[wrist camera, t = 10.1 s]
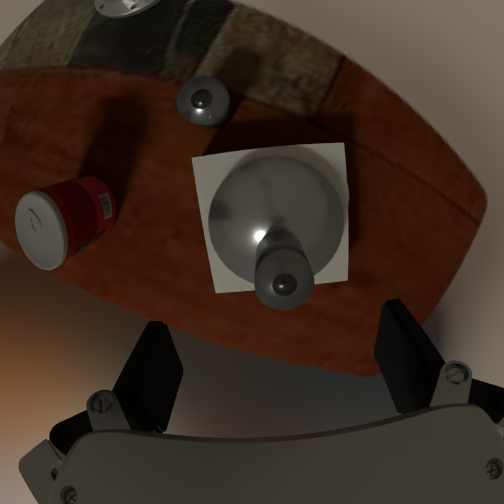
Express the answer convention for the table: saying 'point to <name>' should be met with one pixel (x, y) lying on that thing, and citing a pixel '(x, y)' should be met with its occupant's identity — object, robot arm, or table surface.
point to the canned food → (64, 219)
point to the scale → (221, 165)
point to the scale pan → (274, 212)
